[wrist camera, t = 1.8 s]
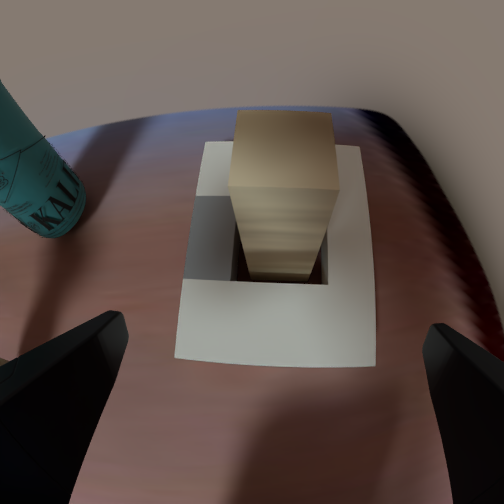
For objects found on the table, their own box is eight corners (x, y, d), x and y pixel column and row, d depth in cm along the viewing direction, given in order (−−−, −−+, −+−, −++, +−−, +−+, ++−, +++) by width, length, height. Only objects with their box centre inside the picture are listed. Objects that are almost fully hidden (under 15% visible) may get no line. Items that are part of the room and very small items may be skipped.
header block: (361, 366, 19) (375, 366, 17) (187, 359, 20) (174, 357, 18) (352, 168, 25) (359, 146, 22) (212, 164, 26) (205, 141, 23)
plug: (307, 281, 22) (339, 190, 11) (251, 279, 22) (227, 186, 11) (307, 230, 23) (330, 112, 12) (254, 228, 24) (237, 110, 12)
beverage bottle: (43, 203, 26) (-80, 75, 8) (94, 175, 27) (-18, 15, 8) (45, 258, 24) (-117, 133, 5) (102, 230, 25) (-56, 57, 6)
